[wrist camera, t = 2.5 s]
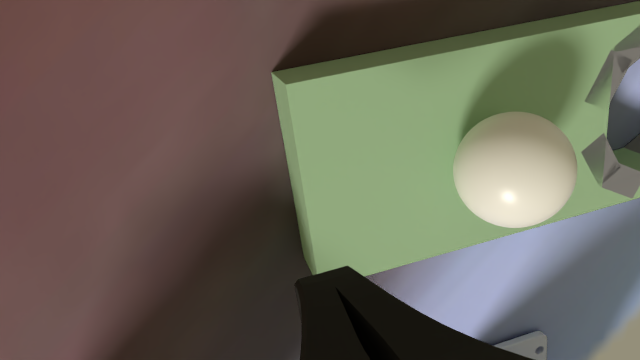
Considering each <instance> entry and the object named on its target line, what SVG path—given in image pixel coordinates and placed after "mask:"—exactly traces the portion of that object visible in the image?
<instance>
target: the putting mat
mask: <svg viewBox="0 0 640 360" xmlns="http://www.w3.org/2000/svg"><path fill="white" fill-rule="evenodd" d="M639 58H640V1H636V2H631V3H626V4H621V5H615V6H610V7H605V8H600V9H595V10H590V11H584V12H579V13H574V14H569V15H564V16H559V17H553V18H548V19H543V20H538V21H533V22H528V23H523V24H517V25H512V26H507V27H502V28H497V29H492V30H486V31H481V32H476V33H471V34H466V35H461V36H455V37H450V38H445V39H440V40H435V41H430V42H425V43H419V44H414V45H409V46H404V47H399V48H394V49H388V50H383V51H378V52H373V53H368V54H363V55H357V56H352V57H347V58H342V59H337V60H332V61H327V62H321V63H316V64H311V65H306V66H301V67H296V68H290V69H285V70H280V71H275V72H271V73H272V79H273V85H274V90H275V96H276V102H277V107H278V113H279V119H280V124H281V130H282V136H283V141H284V147H285V153H286V158H287V164H288V170H289V175H290V181H291V187H292V192H293V198H294V204H295V209H296V215H297V221H298V226H299V232H300V238H301V243H302V249H303V255H304V259H305V261H306V263H307V265H308V267H309V269H310V271H311V273H312V275H316V274H319V273H323V272H326V271H330V270H333V269H337V268H341V267H344V266H349V267H351V268H352V269H354V270H355V271H357V272H358V273H360V274H361V275H363V276H368V275H371V274H375V273H378V272H382V271H385V270H389V269H392V268H396V267H399V266H403V265H406V264H410V263H413V262H417V261H420V260H424V259H427V258H430V257H434V256H437V255H441V254H444V253H448V252H451V251H455V250H458V249H462V248H465V247H469V246H472V245H476V244H479V243H483V242H486V241H490V240H493V239H497V238H500V237H504V236H507V235H511V234H514V233H518V232H521V231H525V230H528V229H532V228H535V227H539V226H542V225H546V224H549V223H553V222H556V221H560V220H563V219H567V218H570V217H574V216H577V215H581V214H584V213H588V212H591V211H595V210H598V209H602V208H605V207H609V206H612V205H616V204H619V203H623V202H626V201H630V200H633V199H637V198H640V134H639V135H638V136H637V137H636V138H635V139H633V140H632V141H631V142H630V143H629V144H627V145H626V146H625V147H624V148H621V149H617V150H613V151H612V149H611V147H610V145H609V143H608V141H607V138H606V137H607V126H608V115H609V104H610V102H611V100H612V98H613V96H614V94H615V92H616V90H617V88H618V86H619V85H620V83H621V81H622V79H623V77H624V75H625V73H626V71H627V69H628V68H629V67H630V66H631V65H632V64H633V63H635V62H636V61H637V60H638V59H639ZM505 112H527V113H532V114H535V115H538V116H541V117H543V118H545V119H547V120H549V121H551V122H552V123H553V124H555V125H556V126H557V127H558V128H560V130H561V131H562V132H563V133H564V134H565V135H566V136H567V138H568V139H569V141H570V143H571V144H572V147H573V149H574V151H575V155H576V159H577V180H576V184H575V187H574V190H573V192H572V194H571V196H570V198H569V200H568V201H567V202H566V204H565V205H564V206H563V207H562V208H561V209H560V210H559V211H558V212H557V213H556V214H555V215H553V216H552V217H550V218H549V219H547V220H545V221H543V222H541V223H539V224H536V225H533V226H528V227H523V228H507V227H501V226H497V225H494V224H491V223H489V222H486V221H484V220H483V219H481V218H479V217H478V216H476V215H475V214H474V213H473V212H472V211H471V210H469V209H468V207H467V206H466V205H465V204H464V202H463V201H462V199H461V198H460V196H459V194H458V192H457V189H456V187H455V183H454V177H453V163H454V158H455V154H456V151H457V148H458V146H459V144H460V142H461V141H462V139H463V138H464V136H465V135H466V134H467V133H468V132H469V131H470V130H471V129H472V128H473V127H474V126H475V125H476V124H478V123H479V122H481V121H482V120H484V119H486V118H488V117H491V116H493V115H496V114H499V113H505Z"/></svg>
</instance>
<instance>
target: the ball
mask: <svg viewBox="0 0 640 360" xmlns="http://www.w3.org/2000/svg"><path fill="white" fill-rule="evenodd" d="M453 177H454V183H455V187H456V189H457V192H458V194H459V196H460V198H461V199H462V201H463V202H464V204H465V205H466V206H467V207H468V209H469V210H471V211H472V212H473V213H474V214H475V215H476V216H478V217H479V218H481V219H483V220H484V221H486V222H489V223H491V224H494V225H497V226H501V227H507V228H523V227H528V226H533V225H536V224H539V223H541V222H543V221H545V220H547V219H549V218H550V217H552V216H553V215H555V214H556V213H557V212H558V211H559V210H560V209H561V208H562V207H563V206H564V205H565V204H566V202H567V201H568V200H569V198H570V196H571V194H572V192H573V190H574V187H575V184H576V180H577V159H576V155H575V151H574V149H573V147H572V144H571V143H570V141H569V139H568V138H567V136H566V135H565V134H564V133H563V132H562V131H561V130H560V128H558V127H557V126H556V125H555V124H553V123H552V122H551V121H549V120H547V119H545V118H543V117H541V116H538V115H535V114H532V113H527V112H505V113H499V114H496V115H493V116H491V117H488V118H486V119H484V120H482V121H481V122H479V123H478V124H476V125H475V126H474V127H473V128H472V129H471V130H470V131H469V132H468V133H467V134H466V135H465V136H464V138H463V139H462V141H461V142H460V144H459V146H458V148H457V151H456V154H455V158H454V163H453Z"/></svg>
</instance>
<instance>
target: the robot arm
mask: <svg viewBox="0 0 640 360" xmlns="http://www.w3.org/2000/svg"><path fill="white" fill-rule="evenodd" d="M294 286H295V291H296V296H297V301H298V307H299V312H300V317H301V323H302V342H301V354H300V360H546V356H547V337H546V335H545V334H543V333H542V332H541V331H535V332H532V333H529V334H526V335H523V336H520V337H517V338H514V339H511V340H508V341H505V342H502V343H499V344H496V345H493V346H492V345H490V344H487V343H485V342H482V341H479V340H477V339H475V338H472V337H470V336H468V335H465V334H463V333H461V332H458V331H456V330H454V329H452V328H450V327H447V326H445V325H443V324H441V323H439V322H437V321H435V320H434V319H432V318H430V317H428V316H426V315H424V314H422V313H420V312H419V311H417V310H415V309H413V308H412V307H410V306H408V305H407V304H405V303H404V302H402V301H400V300H399V299H397V298H395V297H394V296H392V295H391V294H389V293H388V292H386V291H385V290H383V289H382V288H380V287H379V286H377V285H376V284H374V283H373V282H371V281H370V280H368V279H367V278H365V277H364V276H363V275H361V274H360V273H358V272H357V271H355V270H354V269H352V268H351V267H349V266H344V267H341V268H337V269H333V270H330V271H326V272H323V273H319V274H316V275H312V276H308V277H305V278H301V279H298V280H297V282H296V283H295V285H294Z"/></svg>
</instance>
